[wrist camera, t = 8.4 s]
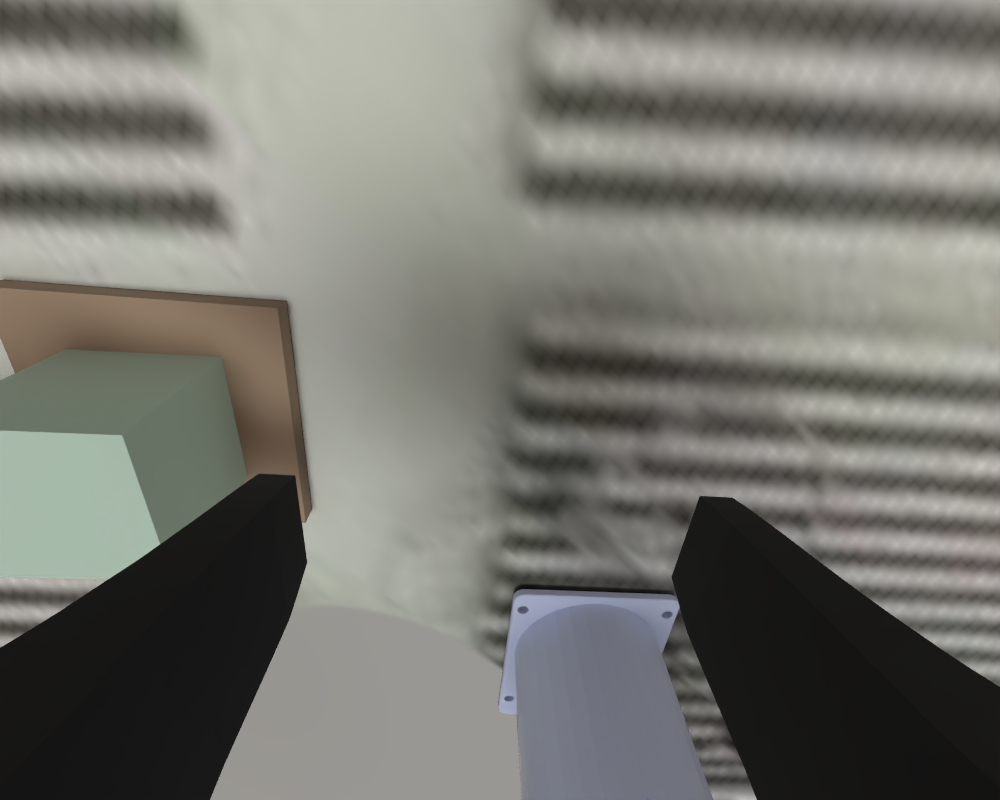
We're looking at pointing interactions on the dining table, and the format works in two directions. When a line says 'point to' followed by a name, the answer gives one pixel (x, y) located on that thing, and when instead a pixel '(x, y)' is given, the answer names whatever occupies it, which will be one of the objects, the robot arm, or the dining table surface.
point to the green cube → (110, 458)
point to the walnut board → (177, 352)
